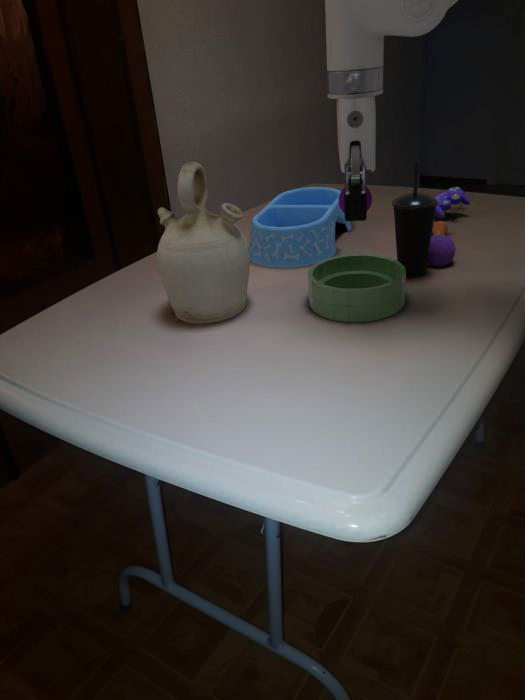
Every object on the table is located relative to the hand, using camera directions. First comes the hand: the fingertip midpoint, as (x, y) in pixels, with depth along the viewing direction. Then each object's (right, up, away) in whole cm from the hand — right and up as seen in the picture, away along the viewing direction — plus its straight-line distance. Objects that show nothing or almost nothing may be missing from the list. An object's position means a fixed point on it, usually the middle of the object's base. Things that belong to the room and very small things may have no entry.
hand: (355, 213), depth 85 cm
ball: (0, +2, -1) cm, 2 cm away
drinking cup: (+13, -7, +17) cm, 23 cm away
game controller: (+28, +10, +45) cm, 54 cm away
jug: (-23, -14, +12) cm, 30 cm away
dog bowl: (-5, +3, +39) cm, 39 cm away
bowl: (+2, -13, +9) cm, 16 cm away
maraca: (+21, -2, +26) cm, 33 cm away
